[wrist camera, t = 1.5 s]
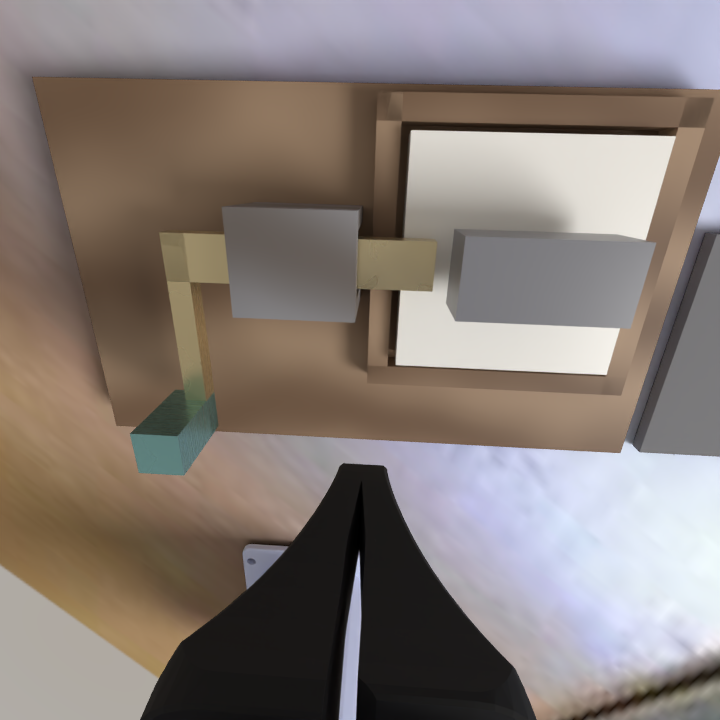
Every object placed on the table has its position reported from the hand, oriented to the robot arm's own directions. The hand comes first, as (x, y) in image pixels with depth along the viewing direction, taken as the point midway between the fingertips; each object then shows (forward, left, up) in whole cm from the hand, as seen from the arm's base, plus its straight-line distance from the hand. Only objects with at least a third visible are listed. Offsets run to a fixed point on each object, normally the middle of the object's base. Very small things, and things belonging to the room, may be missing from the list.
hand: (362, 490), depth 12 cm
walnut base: (+5, 0, -8) cm, 9 cm away
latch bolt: (+3, +3, -4) cm, 6 cm away
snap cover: (+6, -5, -6) cm, 10 cm away
